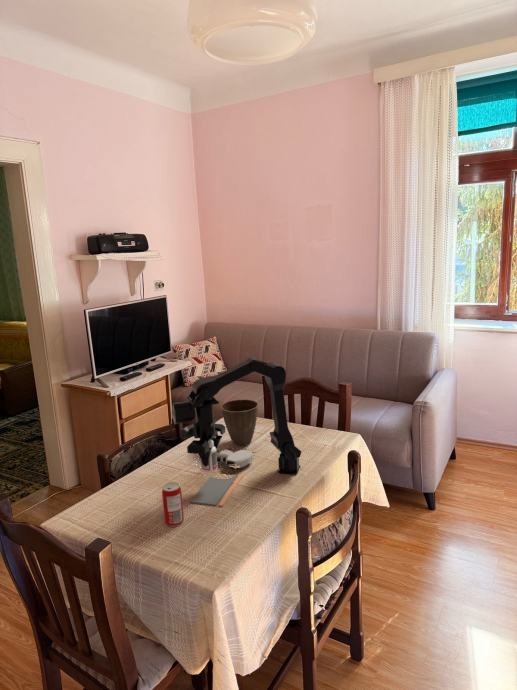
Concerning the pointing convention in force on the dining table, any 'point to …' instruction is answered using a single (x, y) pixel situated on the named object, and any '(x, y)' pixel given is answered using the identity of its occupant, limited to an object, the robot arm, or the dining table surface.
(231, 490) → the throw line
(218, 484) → the mat
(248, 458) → the robot toy
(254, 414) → the plant pot
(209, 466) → the pill bottle
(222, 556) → the dining table surface
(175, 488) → the soda can
